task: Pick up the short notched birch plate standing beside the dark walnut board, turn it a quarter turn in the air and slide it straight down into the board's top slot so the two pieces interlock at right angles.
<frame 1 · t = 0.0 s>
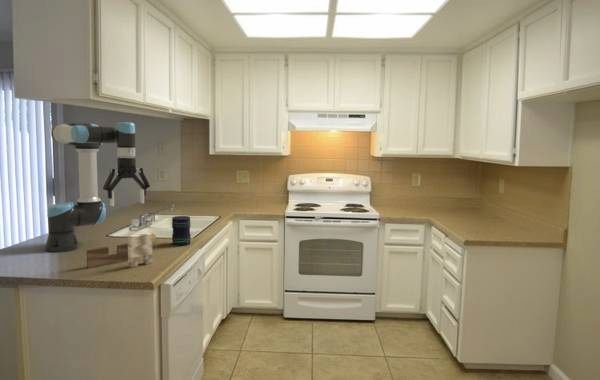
hand: (127, 204, 184), 28 cm above the worktop, tool pointing down, fingers open, 13 cm apart
storage jar: (181, 244, 226), on the worktop
walnut board: (113, 262, 189), on the worktop
potato: (143, 249, 214), on the worktop
birch plate: (140, 264, 187), on the worktop
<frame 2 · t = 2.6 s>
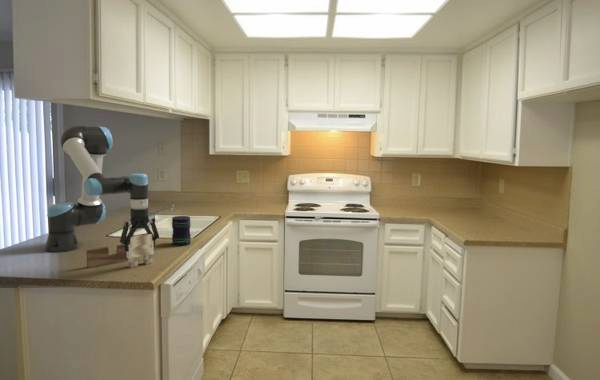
hand: (140, 255, 187), 4 cm above the worktop, tool pointing down, fingers closed on birch plate, 10 cm apart
birch plate: (140, 264, 187), on the worktop, touching gripper
everything else where it was.
when the fingers open (5 cm above the worktop, at t = 10.3 s): birch plate stays where it is, on the worktop.
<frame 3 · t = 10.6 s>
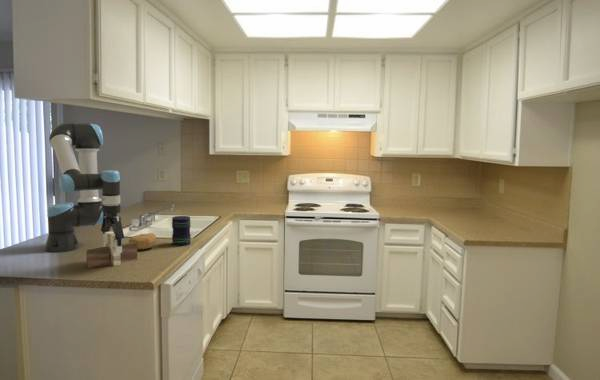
hand: (112, 250, 188), 6 cm above the worktop, tool pointing down, fingers open, 13 cm apart
birch plate: (112, 262, 189), on the worktop
everything else where it was.
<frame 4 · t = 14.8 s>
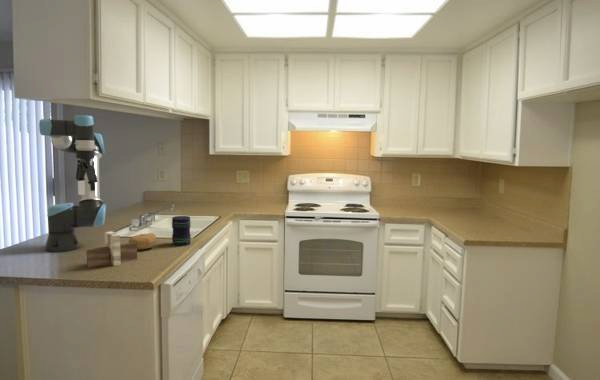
hand: (86, 196, 187), 31 cm above the worktop, tool pointing down, fingers open, 13 cm apart
nothing on the worktop moved.
at the end: birch plate 0.0 cm off-centre on the walnut board, point 0.0 cm above the walnut board's base; birch plate tilted 0°; the gripper is holding nothing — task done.
